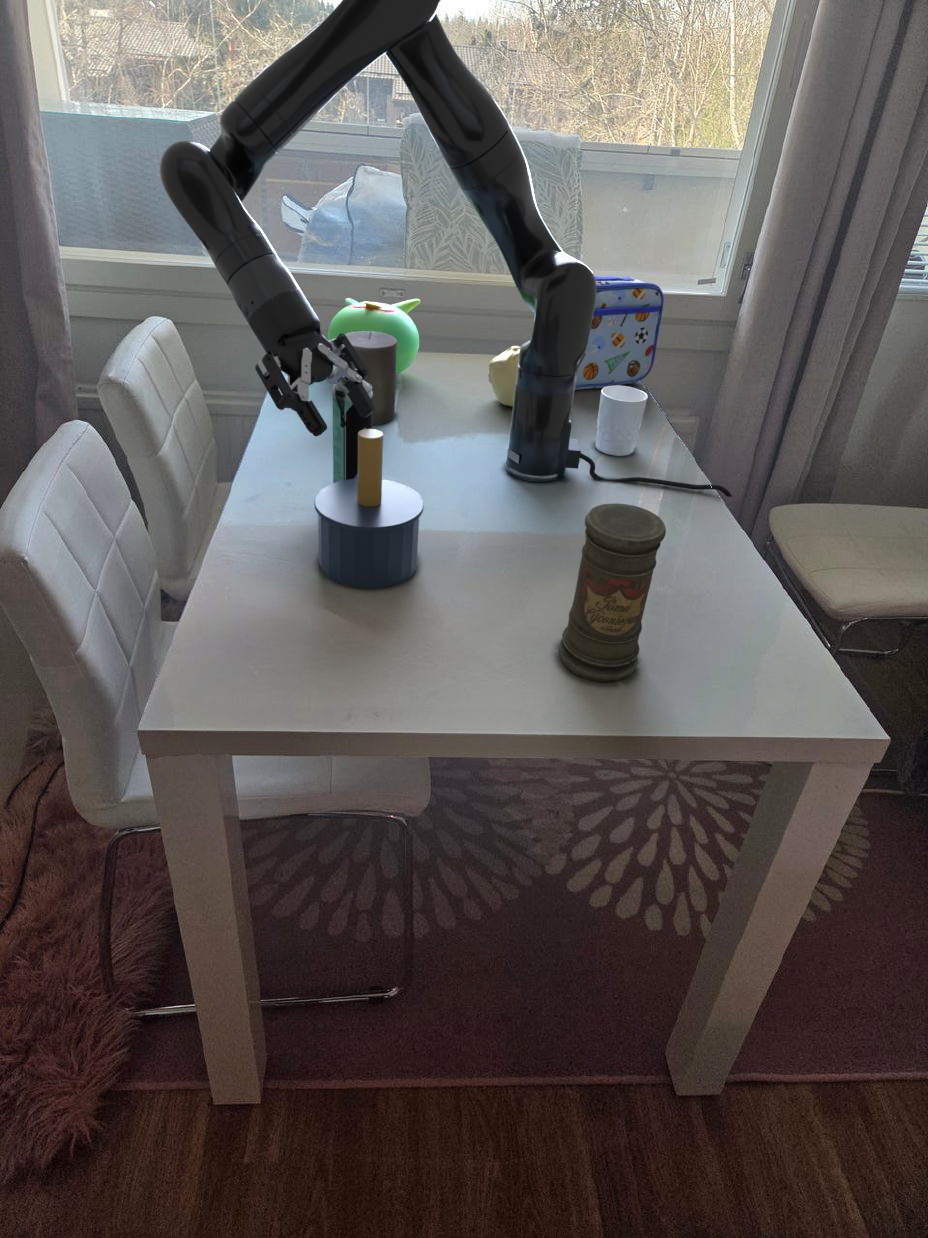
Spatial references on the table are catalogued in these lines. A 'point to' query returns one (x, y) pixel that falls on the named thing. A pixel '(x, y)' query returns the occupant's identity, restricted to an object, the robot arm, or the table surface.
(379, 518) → the lid
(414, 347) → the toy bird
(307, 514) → the table surface
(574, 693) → the table surface
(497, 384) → the sculpture
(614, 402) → the white cup
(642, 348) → the lunch box
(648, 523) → the container
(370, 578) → the tin
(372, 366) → the pillar candle
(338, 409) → the spray can
